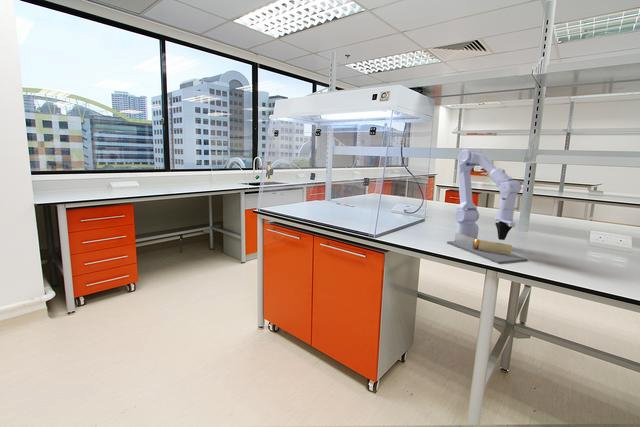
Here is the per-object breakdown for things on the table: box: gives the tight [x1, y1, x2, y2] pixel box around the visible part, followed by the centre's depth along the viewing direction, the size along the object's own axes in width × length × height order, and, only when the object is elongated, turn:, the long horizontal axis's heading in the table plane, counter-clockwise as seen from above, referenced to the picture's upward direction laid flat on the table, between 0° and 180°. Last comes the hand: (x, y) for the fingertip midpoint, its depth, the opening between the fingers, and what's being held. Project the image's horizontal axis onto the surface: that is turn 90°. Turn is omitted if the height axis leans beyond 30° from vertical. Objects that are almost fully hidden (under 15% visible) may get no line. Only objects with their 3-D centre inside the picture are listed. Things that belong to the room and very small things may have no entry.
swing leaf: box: [474, 238, 513, 255], centre depth 135 cm, size 2×14×4 cm, turn 60°
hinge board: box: [446, 240, 529, 264], centre depth 139 cm, size 16×28×1 cm, turn 20°
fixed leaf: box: [454, 232, 475, 249], centre depth 144 cm, size 1×11×4 cm, turn 21°
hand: (501, 239), depth 137 cm, fingers closed
